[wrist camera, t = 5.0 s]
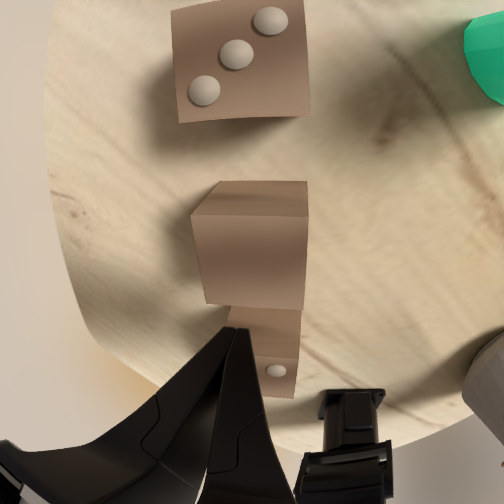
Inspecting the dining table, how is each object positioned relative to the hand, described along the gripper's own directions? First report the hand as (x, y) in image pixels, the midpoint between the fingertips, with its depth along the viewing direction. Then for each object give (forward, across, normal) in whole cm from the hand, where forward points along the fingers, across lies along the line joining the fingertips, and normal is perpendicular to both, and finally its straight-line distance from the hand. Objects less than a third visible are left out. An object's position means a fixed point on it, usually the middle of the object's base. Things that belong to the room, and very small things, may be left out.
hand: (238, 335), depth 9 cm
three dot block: (+9, 0, -9) cm, 13 cm away
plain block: (+9, 0, 0) cm, 9 cm away
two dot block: (+9, 0, +9) cm, 13 cm away
